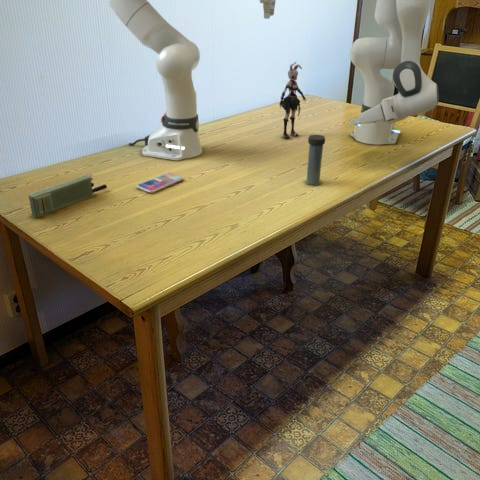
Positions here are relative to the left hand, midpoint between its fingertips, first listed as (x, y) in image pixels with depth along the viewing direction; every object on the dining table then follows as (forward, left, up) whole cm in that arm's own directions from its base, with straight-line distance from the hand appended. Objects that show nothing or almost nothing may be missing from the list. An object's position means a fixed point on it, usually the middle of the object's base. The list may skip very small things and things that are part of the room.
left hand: (268, 16), depth 163 cm
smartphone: (-29, -31, -48) cm, 64 cm away
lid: (+19, -19, -33) cm, 42 cm away
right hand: (+30, +6, -35) cm, 47 cm away
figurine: (+6, +28, -48) cm, 56 cm away
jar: (+19, -19, -48) cm, 55 cm away
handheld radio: (-50, -50, -48) cm, 86 cm away
